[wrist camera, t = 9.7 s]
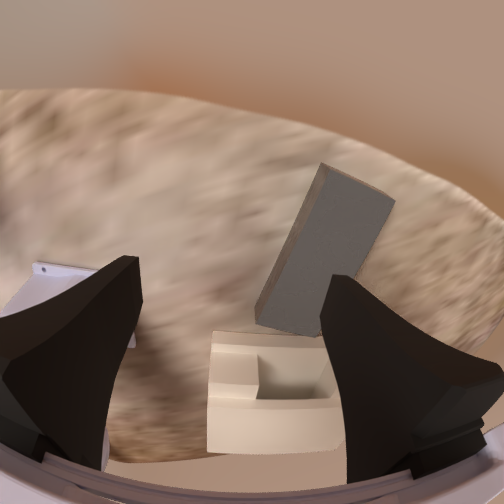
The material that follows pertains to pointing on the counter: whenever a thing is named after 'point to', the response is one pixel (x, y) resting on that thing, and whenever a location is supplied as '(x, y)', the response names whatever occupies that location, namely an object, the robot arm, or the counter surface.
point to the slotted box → (272, 395)
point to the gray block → (321, 249)
